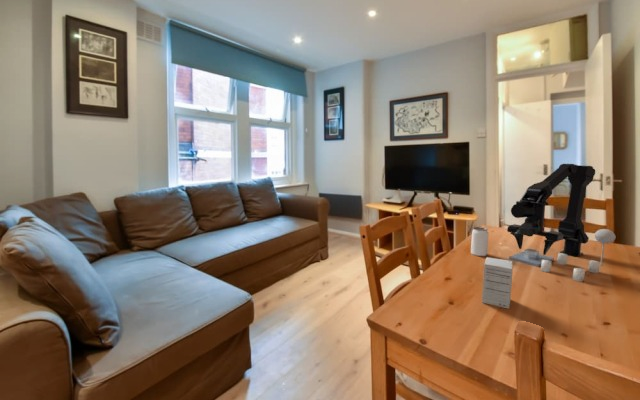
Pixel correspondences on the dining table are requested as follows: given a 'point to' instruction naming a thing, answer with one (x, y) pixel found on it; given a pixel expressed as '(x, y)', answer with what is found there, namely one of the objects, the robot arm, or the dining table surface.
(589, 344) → the dining table surface
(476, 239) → the can
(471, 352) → the dining table surface
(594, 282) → the dining table surface
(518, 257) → the board
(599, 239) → the lollipop
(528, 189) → the robot arm
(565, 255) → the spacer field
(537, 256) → the grey faceted polyhedron
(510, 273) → the supplement box
